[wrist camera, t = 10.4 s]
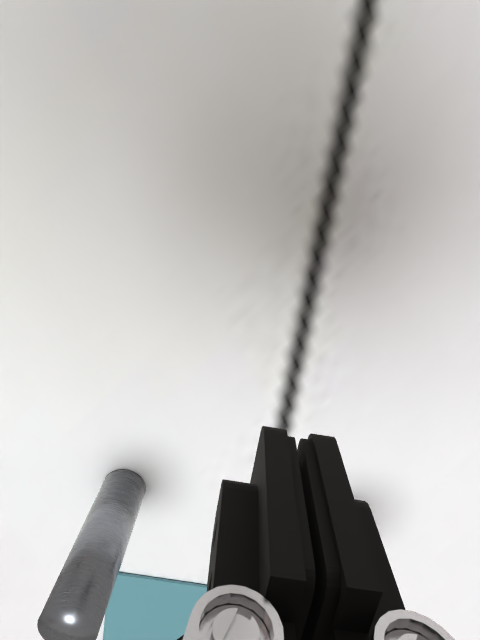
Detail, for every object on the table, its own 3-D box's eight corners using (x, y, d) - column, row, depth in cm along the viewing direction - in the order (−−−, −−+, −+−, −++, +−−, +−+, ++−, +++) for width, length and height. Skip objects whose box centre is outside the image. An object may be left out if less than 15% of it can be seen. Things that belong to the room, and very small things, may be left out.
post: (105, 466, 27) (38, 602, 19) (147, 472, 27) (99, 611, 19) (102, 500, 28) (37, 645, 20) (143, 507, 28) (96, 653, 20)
